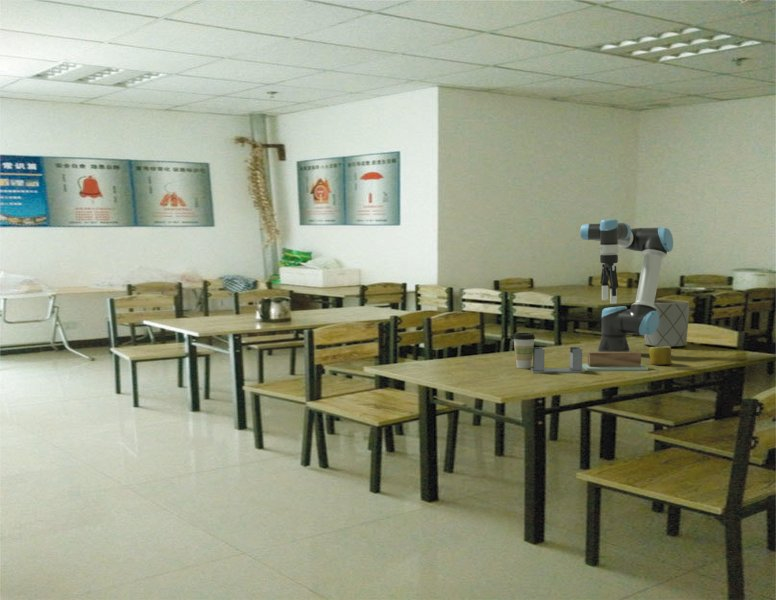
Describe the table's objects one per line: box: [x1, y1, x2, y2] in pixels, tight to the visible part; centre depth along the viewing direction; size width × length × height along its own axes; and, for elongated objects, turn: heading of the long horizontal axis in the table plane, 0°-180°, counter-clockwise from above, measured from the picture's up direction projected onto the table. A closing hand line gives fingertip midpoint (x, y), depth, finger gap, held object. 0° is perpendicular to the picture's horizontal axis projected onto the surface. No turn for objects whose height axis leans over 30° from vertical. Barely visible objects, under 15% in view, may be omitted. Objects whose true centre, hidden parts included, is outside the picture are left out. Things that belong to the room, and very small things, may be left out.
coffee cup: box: [512, 332, 536, 370], centre depth 336 cm, size 10×10×15 cm
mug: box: [648, 346, 672, 366], centre depth 341 cm, size 12×10×10 cm
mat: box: [582, 363, 649, 372], centre depth 332 cm, size 12×26×1 cm, turn 87°
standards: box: [529, 346, 586, 374], centre depth 326 cm, size 8×22×10 cm, turn 87°
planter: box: [643, 299, 690, 348], centre depth 394 cm, size 23×23×24 cm
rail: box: [587, 351, 642, 367], centre depth 331 cm, size 4×22×6 cm, turn 87°
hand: (609, 301), depth 337 cm, fingers open, 13 cm apart
